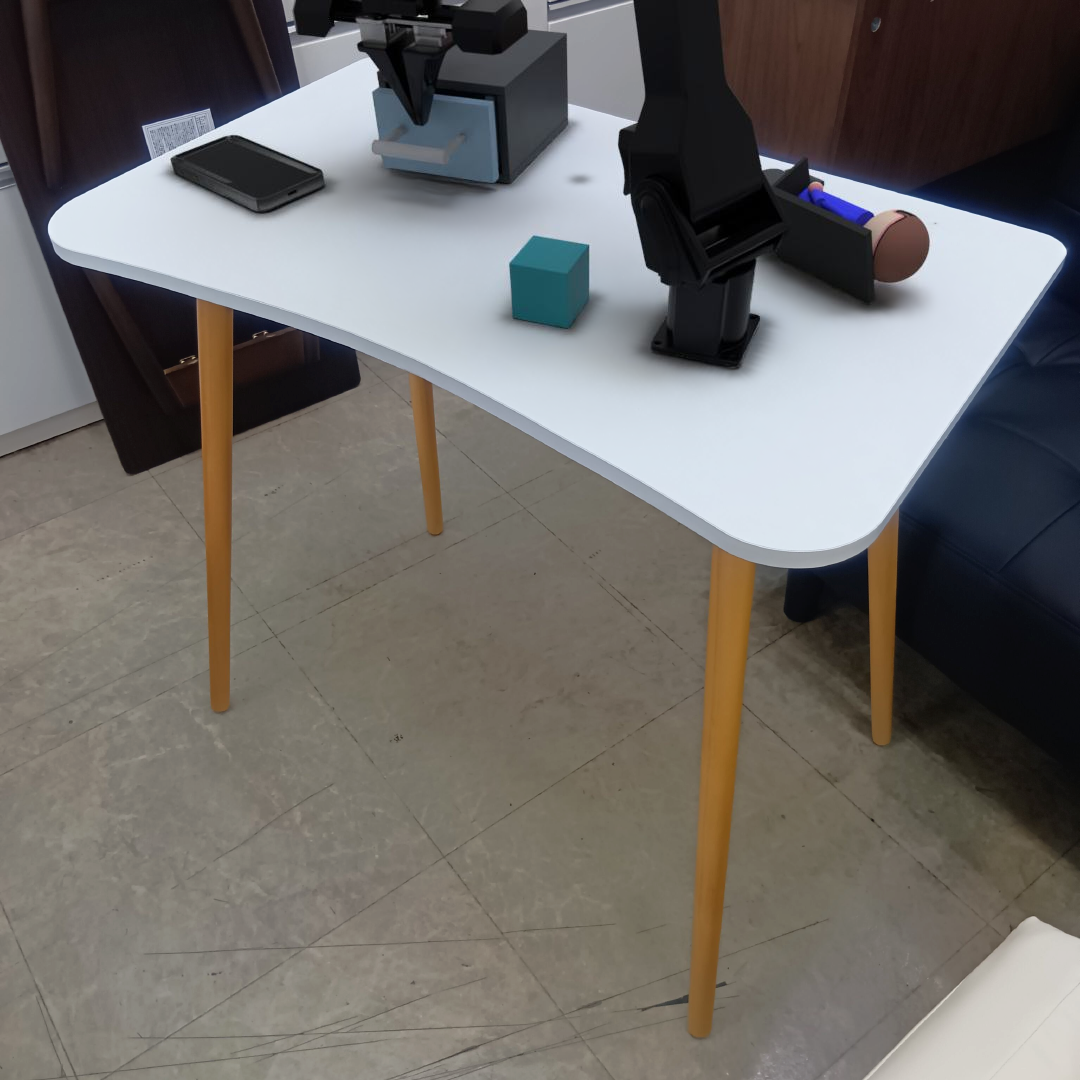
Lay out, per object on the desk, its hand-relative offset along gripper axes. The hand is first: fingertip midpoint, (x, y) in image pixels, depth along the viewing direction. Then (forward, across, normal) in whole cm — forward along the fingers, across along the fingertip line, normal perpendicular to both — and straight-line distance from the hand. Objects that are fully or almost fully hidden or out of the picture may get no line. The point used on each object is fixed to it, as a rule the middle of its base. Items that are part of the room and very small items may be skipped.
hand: (421, 124), depth 84 cm
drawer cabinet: (+6, 0, -11) cm, 13 cm away
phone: (+6, +18, +3) cm, 19 cm away
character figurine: (+6, -36, +3) cm, 37 cm away
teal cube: (+6, -18, +15) cm, 24 cm away
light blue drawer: (+5, 0, -6) cm, 8 cm away
